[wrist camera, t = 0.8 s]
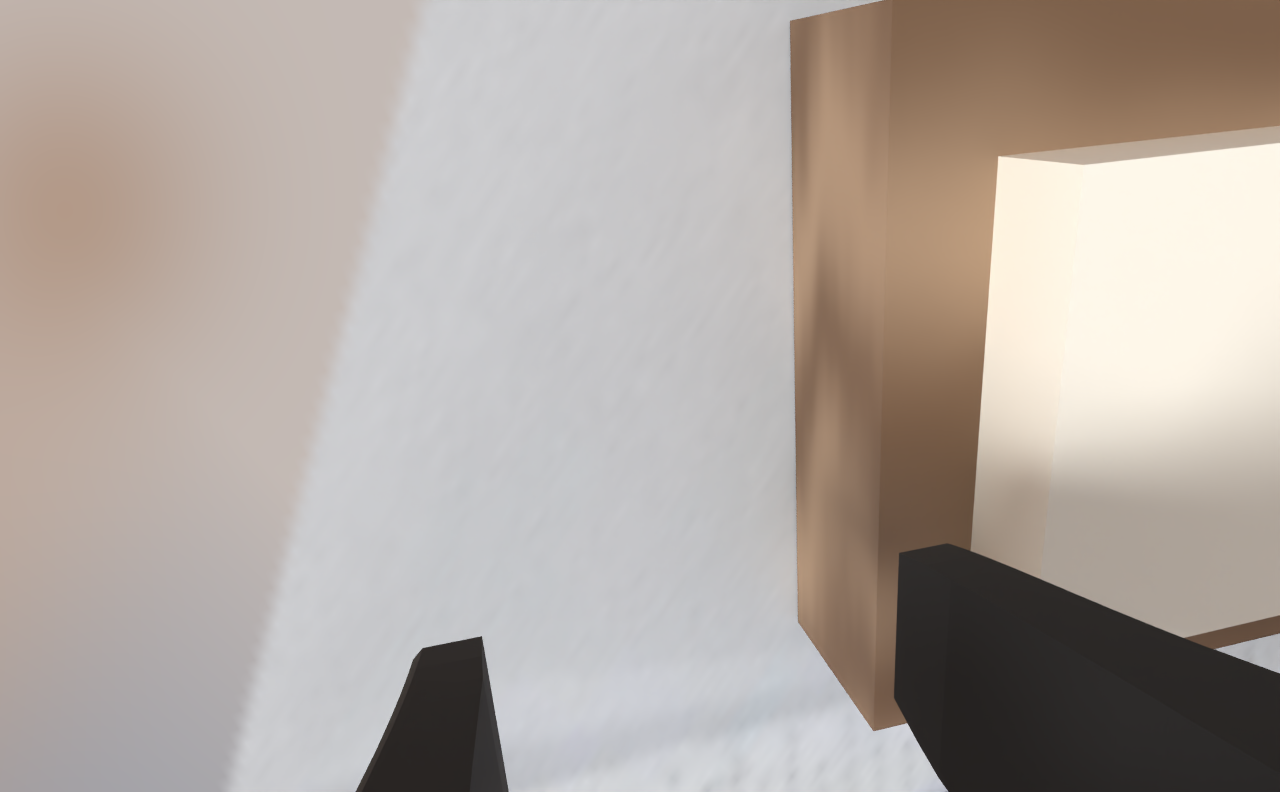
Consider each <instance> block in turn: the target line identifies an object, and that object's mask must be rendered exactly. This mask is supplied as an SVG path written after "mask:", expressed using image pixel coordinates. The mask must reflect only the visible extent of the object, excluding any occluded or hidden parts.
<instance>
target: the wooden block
mask: <svg viewBox="0 0 1280 792" xmlns="http://www.w3.org/2000/svg"><path fill="white" fill-rule="evenodd" d="M790 45H791V121H792V197H793V273H794V348H795V424H796V500H797V576H798V622H799V624H800V625H801V627H802V628H803V630H804V631H805V633H806V634H807V635H808V637H809V638H810V640H811V641H812V643H813V644H814V646H815V647H816V649H817V650H818V651H819V653H820V654H821V656H822V657H823V659H824V660H825V662H826V663H827V664H828V666H829V667H830V669H831V670H832V672H833V673H834V675H835V676H836V678H837V679H838V680H839V682H840V683H841V685H842V686H843V688H844V689H845V691H846V692H847V693H848V695H849V696H850V698H851V699H852V701H853V702H854V704H855V705H856V707H857V708H858V709H859V711H860V712H861V714H862V715H863V717H864V718H865V720H866V721H867V722H868V724H869V725H870V727H871V728H872V730H873V731H876V730H881V729H885V728H889V727H893V726H897V725H901V724H905V723H907V721H906V720H905V718H904V716H903V714H902V712H901V710H900V708H899V707H898V705H897V703H896V701H895V699H894V678H895V650H896V623H897V595H898V567H899V553H901V552H906V551H911V550H916V549H921V548H926V547H931V546H936V545H941V544H946V543H948V544H952V545H955V546H958V547H961V548H964V549H967V550H969V551H971V539H972V524H973V510H974V496H975V482H976V468H977V454H978V439H979V425H980V411H981V397H982V383H983V368H984V354H985V340H986V326H987V312H988V298H989V283H990V269H991V255H992V241H993V227H994V213H995V198H996V184H997V170H998V156H1006V155H1015V154H1024V153H1034V152H1043V151H1052V150H1061V149H1070V148H1080V147H1089V146H1098V145H1107V144H1117V143H1126V142H1135V141H1144V140H1154V139H1163V138H1172V137H1181V136H1191V135H1200V134H1209V133H1218V132H1227V131H1237V130H1246V129H1255V128H1264V127H1274V126H1280V0H883V1H879V2H874V3H870V4H865V5H860V6H856V7H851V8H847V9H842V10H838V11H833V12H829V13H824V14H820V15H815V16H811V17H806V18H801V19H797V20H792V21H790ZM1278 633H1280V615H1279V616H1274V617H1270V618H1266V619H1262V620H1257V621H1253V622H1249V623H1245V624H1240V625H1236V626H1232V627H1228V628H1224V629H1219V630H1215V631H1211V632H1207V633H1202V634H1198V635H1194V636H1190V637H1186V638H1185V639H1188V640H1190V641H1193V642H1195V643H1198V644H1200V645H1203V646H1206V647H1208V648H1211V649H1216V648H1220V647H1225V646H1229V645H1233V644H1237V643H1241V642H1245V641H1249V640H1254V639H1258V638H1262V637H1266V636H1270V635H1274V634H1278Z"/></svg>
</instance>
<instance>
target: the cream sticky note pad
mask: <svg viewBox="0 0 1280 792" xmlns="http://www.w3.org/2000/svg"><path fill="white" fill-rule="evenodd" d="M971 551H972V552H975V553H978V554H980V555H983V556H985V557H988V558H990V559H993V560H996V561H998V562H1000V563H1003V564H1005V565H1008V566H1010V567H1013V568H1015V569H1018V570H1020V571H1022V572H1025V573H1027V574H1030V575H1032V576H1034V577H1037V578H1039V579H1041V580H1044V581H1046V582H1049V583H1051V584H1053V585H1056V586H1058V587H1060V588H1063V589H1065V590H1067V591H1070V592H1072V593H1075V594H1077V595H1079V596H1082V597H1084V598H1087V599H1089V600H1091V601H1094V602H1096V603H1098V604H1101V605H1103V606H1106V607H1108V608H1110V609H1113V610H1115V611H1118V612H1120V613H1123V614H1125V615H1127V616H1130V617H1132V618H1135V619H1137V620H1140V621H1142V622H1145V623H1147V624H1150V625H1152V626H1155V627H1157V628H1159V629H1162V630H1165V631H1167V632H1170V633H1172V634H1175V635H1177V636H1180V637H1182V638H1186V637H1190V636H1194V635H1198V634H1202V633H1207V632H1211V631H1215V630H1219V629H1224V628H1228V627H1232V626H1236V625H1240V624H1245V623H1249V622H1253V621H1257V620H1262V619H1266V618H1270V617H1274V616H1279V615H1280V126H1274V127H1264V128H1255V129H1246V130H1237V131H1227V132H1218V133H1209V134H1200V135H1191V136H1181V137H1172V138H1163V139H1154V140H1144V141H1135V142H1126V143H1117V144H1107V145H1098V146H1089V147H1080V148H1070V149H1061V150H1052V151H1043V152H1034V153H1024V154H1015V155H1006V156H998V170H997V184H996V198H995V213H994V227H993V241H992V255H991V269H990V283H989V298H988V312H987V326H986V340H985V354H984V368H983V383H982V397H981V411H980V425H979V439H978V454H977V468H976V482H975V496H974V510H973V524H972V539H971Z"/></svg>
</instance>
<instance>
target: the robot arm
mask: <svg viewBox="0 0 1280 792" xmlns="http://www.w3.org/2000/svg"><path fill="white" fill-rule="evenodd" d="M894 699H895V701H896V703H897V705H898V707H899V708H900V710H901V712H902V714H903V716H904V718H905V720H906V721H907V723H908V725H909V727H910V729H911V731H912V732H913V734H914V736H915V738H916V740H917V742H918V743H919V745H920V747H921V748H922V750H923V752H924V754H925V755H926V757H927V759H928V760H929V762H930V764H931V765H932V767H933V769H934V771H935V772H936V774H937V776H938V777H939V779H940V780H941V782H942V783H943V785H944V786H945V787H946V789H947V790H948V792H1280V674H1279V673H1277V672H1274V671H1271V670H1268V669H1266V668H1263V667H1260V666H1257V665H1255V664H1252V663H1249V662H1247V661H1244V660H1241V659H1238V658H1236V657H1233V656H1230V655H1228V654H1225V653H1222V652H1219V651H1217V650H1214V649H1211V648H1208V647H1206V646H1203V645H1200V644H1198V643H1195V642H1193V641H1190V640H1188V639H1185V638H1182V637H1180V636H1177V635H1175V634H1172V633H1170V632H1167V631H1165V630H1162V629H1159V628H1157V627H1155V626H1152V625H1150V624H1147V623H1145V622H1142V621H1140V620H1137V619H1135V618H1132V617H1130V616H1127V615H1125V614H1123V613H1120V612H1118V611H1115V610H1113V609H1110V608H1108V607H1106V606H1103V605H1101V604H1098V603H1096V602H1094V601H1091V600H1089V599H1087V598H1084V597H1082V596H1079V595H1077V594H1075V593H1072V592H1070V591H1067V590H1065V589H1063V588H1060V587H1058V586H1056V585H1053V584H1051V583H1049V582H1046V581H1044V580H1041V579H1039V578H1037V577H1034V576H1032V575H1030V574H1027V573H1025V572H1022V571H1020V570H1018V569H1015V568H1013V567H1010V566H1008V565H1005V564H1003V563H1000V562H998V561H996V560H993V559H990V558H988V557H985V556H983V555H980V554H978V553H975V552H972V551H969V550H967V549H964V548H961V547H958V546H955V545H952V544H948V543H946V544H941V545H936V546H931V547H926V548H921V549H916V550H911V551H906V552H901V553H899V567H898V595H897V623H896V650H895V678H894ZM356 792H508V785H507V779H506V773H505V768H504V762H503V756H502V750H501V745H500V739H499V733H498V727H497V721H496V716H495V710H494V704H493V698H492V692H491V687H490V681H489V675H488V669H487V663H486V658H485V652H484V646H483V640H482V636H481V637H476V638H471V639H466V640H461V641H456V642H451V643H446V644H441V645H436V646H431V647H426V648H422V650H421V651H420V652H419V653H418V654H417V656H416V657H415V658H414V659H413V662H412V665H411V668H410V671H409V674H408V676H407V679H406V682H405V684H404V687H403V690H402V692H401V695H400V697H399V700H398V702H397V705H396V707H395V709H394V712H393V714H392V716H391V719H390V721H389V723H388V725H387V728H386V730H385V732H384V734H383V737H382V739H381V741H380V743H379V745H378V748H377V750H376V752H375V754H374V756H373V758H372V760H371V762H370V764H369V766H368V768H367V770H366V772H365V774H364V776H363V778H362V780H361V782H360V784H359V786H358V788H357V790H356Z"/></svg>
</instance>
